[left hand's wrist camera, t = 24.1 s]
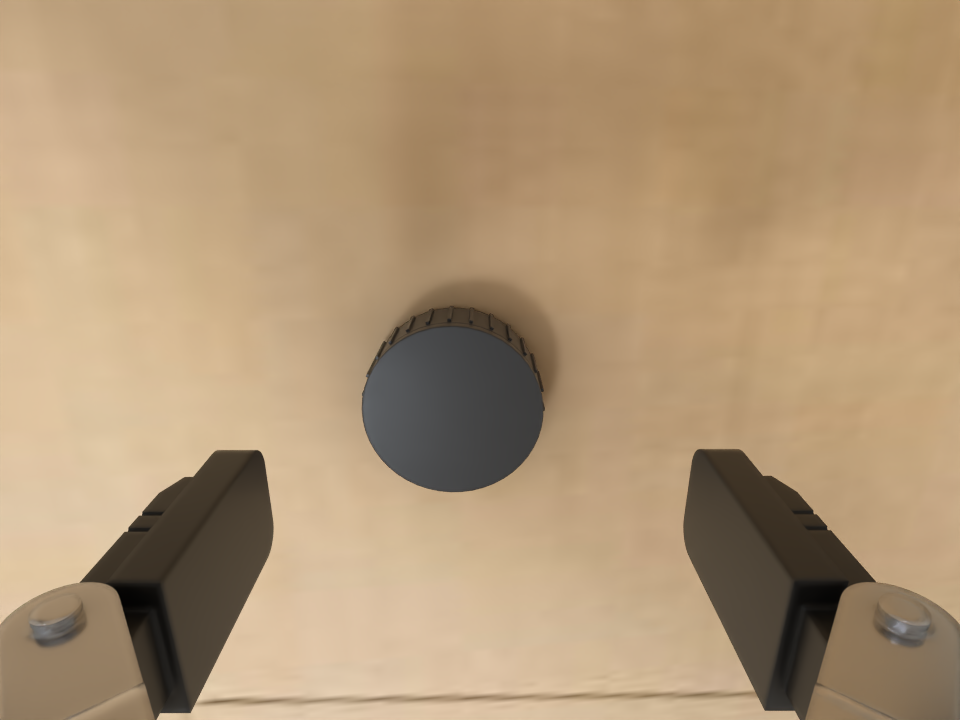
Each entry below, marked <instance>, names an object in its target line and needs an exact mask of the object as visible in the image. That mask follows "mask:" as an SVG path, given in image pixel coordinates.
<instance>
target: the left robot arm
mask: <svg viewBox="0 0 960 720" xmlns="http://www.w3.org/2000/svg"><path fill="white" fill-rule="evenodd" d="M683 528H684V540H685V546H686V549H687V553H688V555H689V557H690V559H691V561H692V563H693V566H694V568H695V570H696V572H697V574H698V576H699V578H700V580H701V582H702V584H703V586H704V588H705V590H706V592H707V594H708V596H709V598H710V600H711V602H712V604H713V606H714V608H715V610H716V612H717V614H718V616H719V618H720V620H721V622H722V624H723V627H724V629H725V631H726V633H727V635H728V637H729V639H730V641H731V643H732V645H733V647H734V649H735V651H736V653H737V655H738V657H739V659H740V661H741V663H742V665H743V667H744V669H745V671H746V673H747V675H748V677H749V679H750V681H751V683H752V685H753V688H754V690H755V692H756V694H757V696H758V698H759V700H760V702H761V704H762V706H763V708H764V710H765V711H795V712H796V713H797V715H798V717H799V719H800V720H960V624H959V623H958V622H957V621H956V620H955V619H954V618H953V617H952V616H951V615H950V614H949V613H947V612H946V611H945V610H944V609H942V608H941V607H940V606H938V605H937V604H935V603H933V602H932V601H930V600H928V599H927V598H925V597H923V596H921V595H919V594H917V593H914V592H912V591H909V590H907V589H904V588H900V587H897V586H894V585H889V584H884V583H877V582H876V581H875V580H874V579H873V578H872V577H871V576H870V574H869V573H868V572H867V571H866V570H865V569H864V568H863V567H862V565H861V564H860V563H859V562H858V561H857V560H856V559H855V557H854V556H853V555H852V554H851V553H850V552H849V551H848V549H847V548H846V547H845V546H844V545H843V544H842V543H841V542H840V540H839V539H838V538H837V537H836V536H835V535H834V534H833V532H832V531H831V530H827V526H826V524H825V523H824V522H823V521H822V520H821V519H820V518H819V516H818V515H817V514H814V513H813V510H812V509H811V507H810V506H809V505H808V504H807V503H806V502H805V501H804V499H803V498H802V497H801V496H800V495H799V494H798V493H797V492H796V491H795V490H793V489H791V488H790V487H788V486H787V485H785V484H783V483H782V482H780V481H779V480H777V479H775V478H774V477H772V476H762V474H761V473H760V472H759V471H758V469H757V468H756V467H755V466H754V465H753V463H752V462H751V461H750V460H749V458H748V457H747V456H746V455H745V454H744V452H743V451H741V450H739V449H699V450H697V451H696V452H695V454H694V456H693V459H692V465H691V472H690V480H689V487H688V494H687V501H686V508H685V515H684V526H683ZM272 540H273V517H272V510H271V503H270V496H269V489H268V482H267V475H266V468H265V462H264V458H263V455H262V453H261V452H260V451H258V450H217V451H215V452H214V453H213V454H212V455H211V456H210V457H209V459H208V460H207V461H206V462H205V464H204V465H203V466H202V467H201V468H200V470H199V471H198V472H197V473H196V474H195V476H194V477H184V478H183V479H181V480H179V481H178V482H176V483H175V484H173V485H171V486H170V487H168V488H167V489H165V490H163V491H162V492H160V493H159V494H158V495H157V496H156V497H155V498H154V499H153V501H152V502H151V503H150V504H149V505H148V506H147V507H146V509H145V510H144V511H143V512H142V516H138V518H137V519H136V520H135V521H134V522H133V523H132V524H131V525H130V527H129V528H128V532H124V533H123V534H122V536H121V537H120V538H119V539H118V540H117V541H116V542H115V543H114V545H113V546H112V547H111V548H110V549H109V550H108V551H107V552H106V554H105V555H104V556H103V557H102V558H101V559H100V560H99V561H98V563H97V564H96V565H95V566H94V567H93V568H92V569H91V571H90V572H89V573H88V574H87V575H86V576H85V577H84V578H83V580H82V581H81V582H80V583H76V584H71V585H66V586H63V587H60V588H56V589H53V590H51V591H48V592H46V593H43V594H41V595H39V596H37V597H35V598H33V599H32V600H30V601H28V602H27V603H25V604H23V605H22V606H20V607H19V608H18V609H16V610H15V611H14V612H13V613H11V614H10V615H9V616H8V617H7V618H6V619H5V620H4V621H3V622H2V623H1V624H0V720H156V719H157V718H158V716H159V714H160V713H191V711H192V709H193V707H194V705H195V703H196V701H197V699H198V697H199V695H200V693H201V691H202V689H203V687H204V685H205V683H206V681H207V679H208V677H209V675H210V673H211V671H212V669H213V667H214V665H215V663H216V661H217V659H218V657H219V655H220V653H221V651H222V649H223V647H224V645H225V643H226V641H227V639H228V637H229V635H230V633H231V631H232V629H233V627H234V625H235V623H236V621H237V619H238V616H239V614H240V612H241V610H242V608H243V606H244V604H245V602H246V600H247V598H248V596H249V594H250V592H251V590H252V588H253V586H254V584H255V582H256V580H257V578H258V576H259V574H260V572H261V570H262V568H263V566H264V564H265V562H266V560H267V558H268V556H269V553H270V550H271V546H272Z"/></svg>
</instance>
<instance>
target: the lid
mask: <svg viewBox="0 0 960 720" xmlns="http://www.w3.org/2000/svg"><path fill="white" fill-rule="evenodd" d="M366 377H368V379H367V382H366V385H365V388H364V391H363V393H362V396H363V398H362V416H363V422H364V427H365V431H366V433H367V436H368V438H369V441H370V443H371V444H372V446H373V448H374V450H375V451H376V453H377V454H378V455H379V457H380V458H381V459H382V460H383V461H384V463H385V464H386V465H387V466H388V467H389V468H391V469H392V470H393V471H394V472H395V473H397V474H398V475H400V476H401V477H403V478H404V479H406V480H408V481H410V482H412V483H414V484H416V485H419V486H422V487H425V488H428V489H432V490H437V491H444V492H464V491H472V490H476V489H480V488H484V487H486V486H489V485H492V484H494V483H496V482H498V481H500V480H502V479H504V478H505V477H506V476H508V475H509V474H511V473H512V472H513V471H514V470H516V469H517V468H518V467H519V466H520V465H521V464H522V463H523V462H524V460H525V459H526V458H527V457H528V456H529V454H530V452H531V451H532V449H533V448H534V446H535V444H536V442H537V439H538V437H539V434H540V431H541V427H542V421H543V411H544V410H545V407H544V403H543V399H542V393H541V392H543V391H544V390H543V386H542V382H541V378H540V374H539V371H538V370H537V366H536V362H535V358H534V355H533V353H532V354H530V352H529V351H528V349H527V347H526V346H525V342H524V339H523V338H519V336H518V335H517V334H516V333H515V332H514V331H513V330H512V329H511V327H510V325H509V324H507V325H505V324H504V323H502V322H501V321H499V320H498V319H496V318H494V317H493V315H492V314H490V315H487V314H485V313H482V312H479V311H475V310H474V308H470V309H462V308H453V306H450V308H445V309H439V310H434V311H433V309H430V310H429V312H427V313H424V314H422V315H419V316H417V317H414V316H412V317H411V318H410V321H408V322H406V323H405V324H404V325H402V326H401V327H400V328H398V327H396V328H395V330H394V332H393V334H392V336H391V337H390V338H389V339H388V341H387V342H385V341H384V342H383V343H382V345H381V347H380V349H379V351H378V353H377V355H376V357H375V359H374V361H373V363H372V365H371V367H370V369H369V371H368V373H367V375H366Z"/></svg>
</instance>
